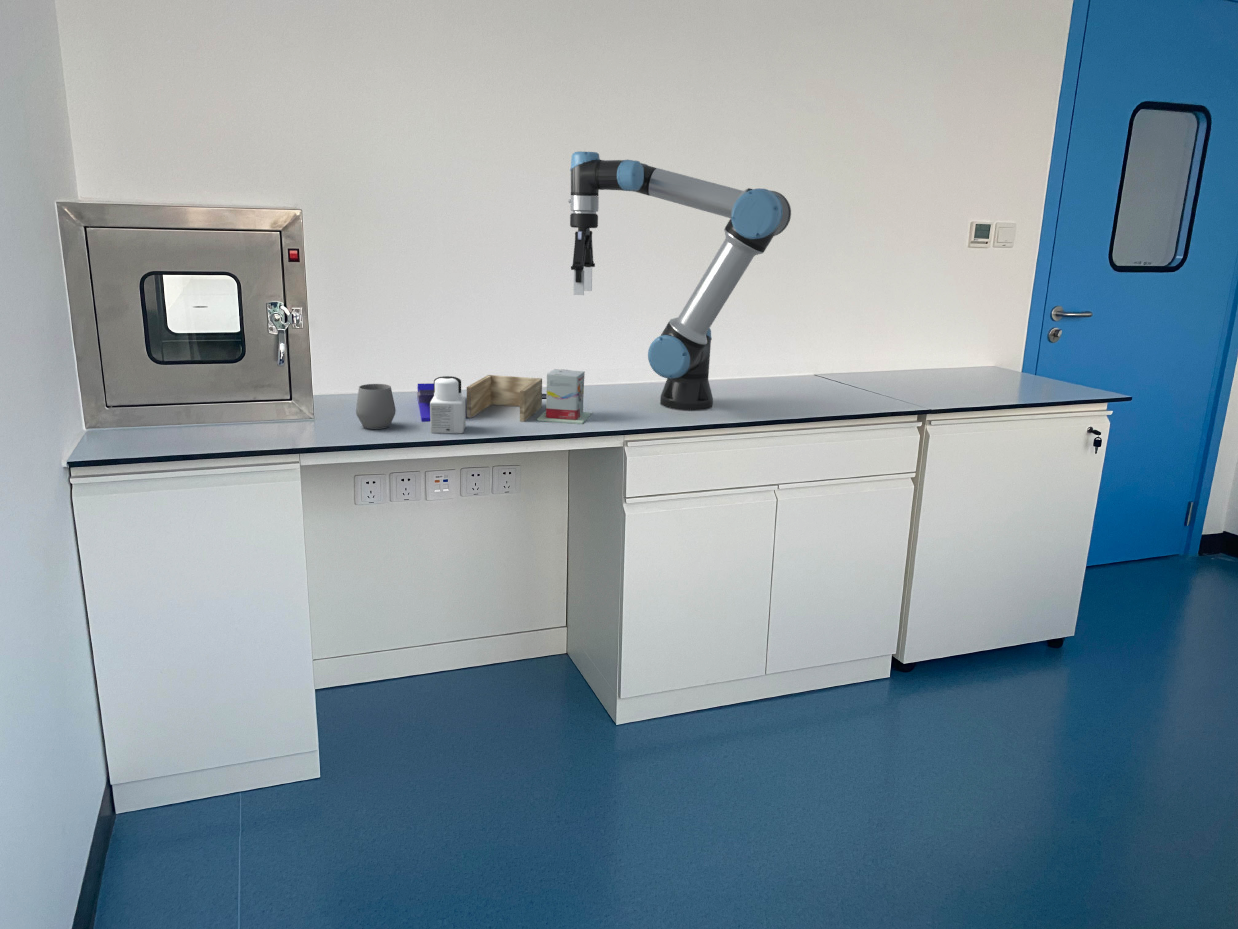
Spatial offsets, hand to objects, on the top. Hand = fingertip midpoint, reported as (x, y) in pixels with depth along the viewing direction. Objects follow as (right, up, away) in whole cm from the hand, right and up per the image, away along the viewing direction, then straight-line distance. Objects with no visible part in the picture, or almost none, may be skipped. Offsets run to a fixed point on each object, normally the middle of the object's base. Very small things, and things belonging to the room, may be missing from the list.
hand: (582, 292), depth 242 cm
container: (-32, -39, -26) cm, 57 cm away
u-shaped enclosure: (-21, -33, -6) cm, 39 cm away
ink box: (-4, -35, -9) cm, 36 cm away
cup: (-50, -38, -26) cm, 68 cm away
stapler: (-39, -33, -5) cm, 51 cm away
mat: (-5, -35, -9) cm, 36 cm away
